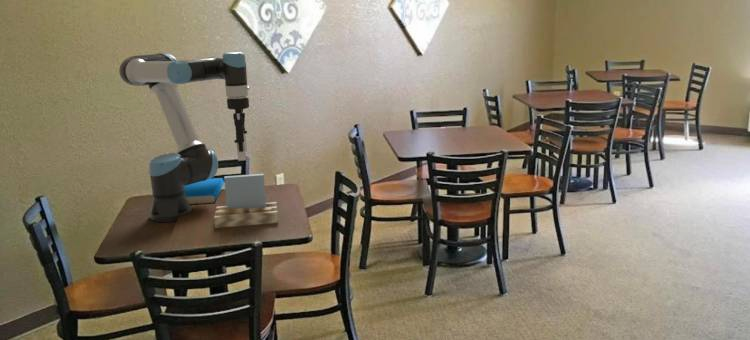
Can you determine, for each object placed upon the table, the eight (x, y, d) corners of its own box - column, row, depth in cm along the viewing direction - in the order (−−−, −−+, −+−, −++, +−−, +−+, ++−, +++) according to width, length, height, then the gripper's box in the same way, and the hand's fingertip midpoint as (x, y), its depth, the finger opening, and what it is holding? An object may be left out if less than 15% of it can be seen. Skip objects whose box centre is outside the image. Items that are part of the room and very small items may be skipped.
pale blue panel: (227, 219, 221) (224, 177, 217) (228, 218, 223) (224, 176, 219) (266, 216, 223) (263, 175, 219) (266, 214, 225) (263, 173, 221)
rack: (215, 231, 213) (214, 217, 212) (217, 220, 225) (216, 206, 223) (278, 226, 217) (277, 212, 216) (277, 215, 228) (276, 201, 227)
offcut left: (218, 225, 215) (217, 212, 214) (219, 223, 217) (217, 210, 216) (244, 223, 217) (243, 210, 215) (244, 221, 219) (243, 208, 218)
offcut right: (249, 222, 217) (248, 211, 216) (250, 220, 219) (249, 208, 218) (272, 221, 218) (271, 209, 217) (272, 218, 221) (271, 207, 220)
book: (172, 196, 243) (184, 179, 267) (173, 206, 245) (185, 188, 268) (215, 194, 245) (223, 176, 269) (216, 204, 246) (224, 186, 270)
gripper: (247, 101, 200) (252, 163, 205) (249, 92, 224) (253, 147, 229) (224, 102, 199) (230, 164, 204) (228, 93, 222) (233, 149, 228)
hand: (242, 156), depth 217 cm, fingers open, 13 cm apart
